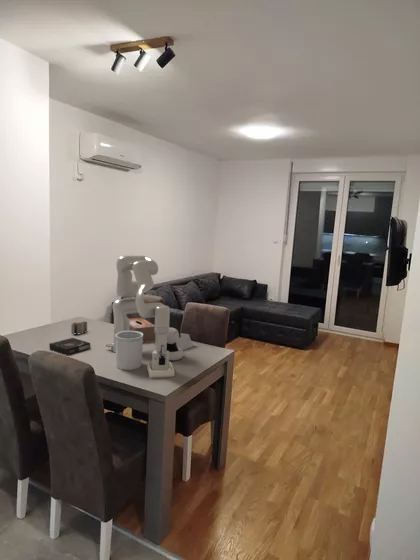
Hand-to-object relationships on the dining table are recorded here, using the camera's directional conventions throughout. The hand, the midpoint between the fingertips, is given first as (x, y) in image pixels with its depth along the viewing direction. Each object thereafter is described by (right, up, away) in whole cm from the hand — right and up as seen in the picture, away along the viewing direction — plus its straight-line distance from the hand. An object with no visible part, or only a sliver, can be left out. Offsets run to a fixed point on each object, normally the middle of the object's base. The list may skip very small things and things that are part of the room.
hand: (160, 361), depth 194 cm
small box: (0, -5, +1) cm, 5 cm away
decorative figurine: (+3, -3, +25) cm, 26 cm away
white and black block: (+7, -1, +44) cm, 45 cm away
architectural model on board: (-65, +5, +64) cm, 91 cm away
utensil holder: (-19, -4, +9) cm, 21 cm away
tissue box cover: (-24, +3, +64) cm, 68 cm away
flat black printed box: (-59, 0, +31) cm, 67 cm away
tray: (0, -6, +1) cm, 6 cm away
